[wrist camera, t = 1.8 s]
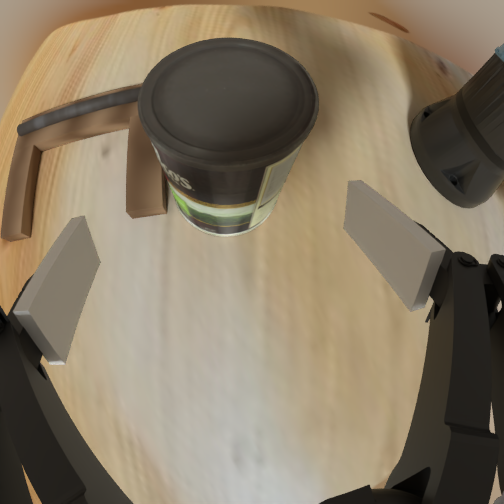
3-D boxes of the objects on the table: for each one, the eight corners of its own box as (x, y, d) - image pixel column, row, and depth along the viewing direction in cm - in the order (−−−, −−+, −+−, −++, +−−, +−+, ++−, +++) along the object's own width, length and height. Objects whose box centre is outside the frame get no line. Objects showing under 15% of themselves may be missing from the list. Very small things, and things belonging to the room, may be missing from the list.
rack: (165, 90, 30) (160, 70, 26) (166, 213, 27) (158, 199, 23) (29, 128, 28) (16, 114, 24) (10, 241, 25) (-8, 234, 21)
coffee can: (197, 255, 26) (168, 198, 13) (160, 164, 28) (122, 66, 14) (297, 212, 28) (353, 131, 14) (252, 130, 30) (268, 26, 16)
